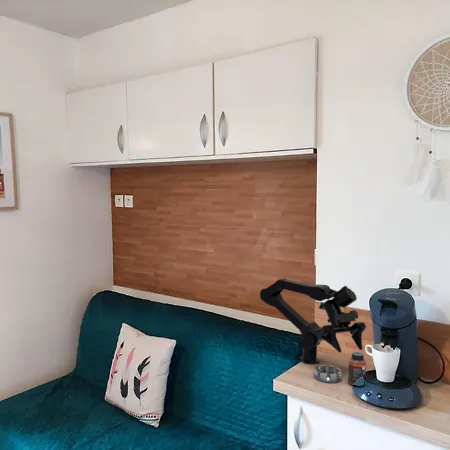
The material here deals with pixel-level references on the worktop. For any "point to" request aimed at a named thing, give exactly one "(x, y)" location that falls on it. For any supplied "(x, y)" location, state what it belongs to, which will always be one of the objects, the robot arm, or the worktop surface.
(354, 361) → the supplement bottle
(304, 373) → the worktop surface
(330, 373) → the ring collar
